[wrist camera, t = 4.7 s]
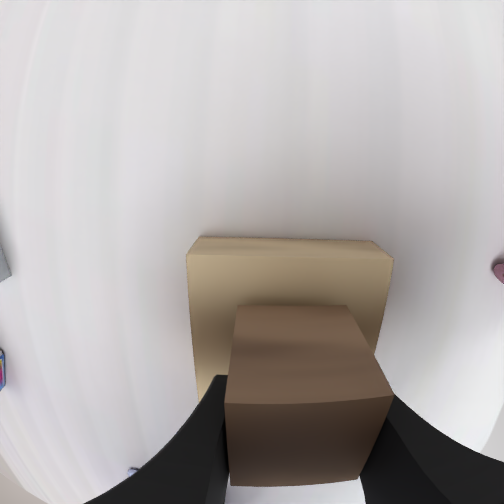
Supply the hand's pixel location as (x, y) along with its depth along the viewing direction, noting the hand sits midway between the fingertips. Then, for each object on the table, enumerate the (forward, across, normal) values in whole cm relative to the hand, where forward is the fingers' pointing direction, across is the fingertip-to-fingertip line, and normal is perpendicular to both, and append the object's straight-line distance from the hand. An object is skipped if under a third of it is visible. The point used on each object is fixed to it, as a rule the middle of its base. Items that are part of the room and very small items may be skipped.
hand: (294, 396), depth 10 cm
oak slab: (+6, 0, 0) cm, 6 cm away
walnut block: (+2, 0, 0) cm, 2 cm away
